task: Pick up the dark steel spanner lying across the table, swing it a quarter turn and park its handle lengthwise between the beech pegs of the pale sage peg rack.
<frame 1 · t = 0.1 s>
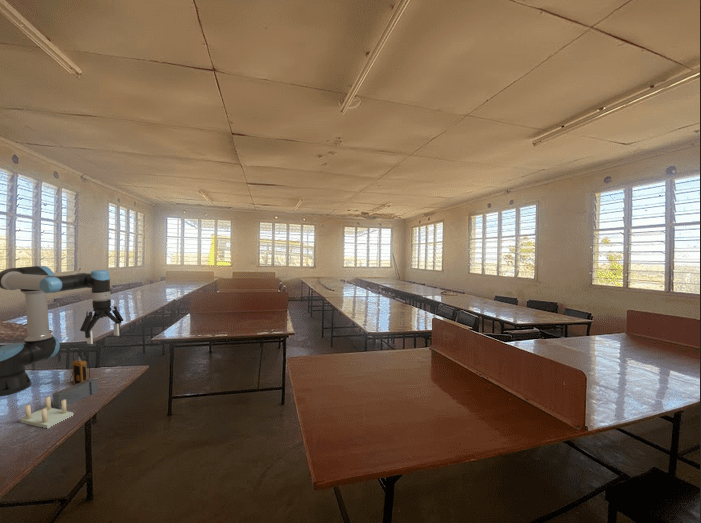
hand: (103, 339, 163), 28 cm above the table, fingers open, 13 cm apart
spanner: (72, 401, 154), on the table
multimeter: (87, 381, 175), on the table
peg rack: (47, 418, 139), on the table
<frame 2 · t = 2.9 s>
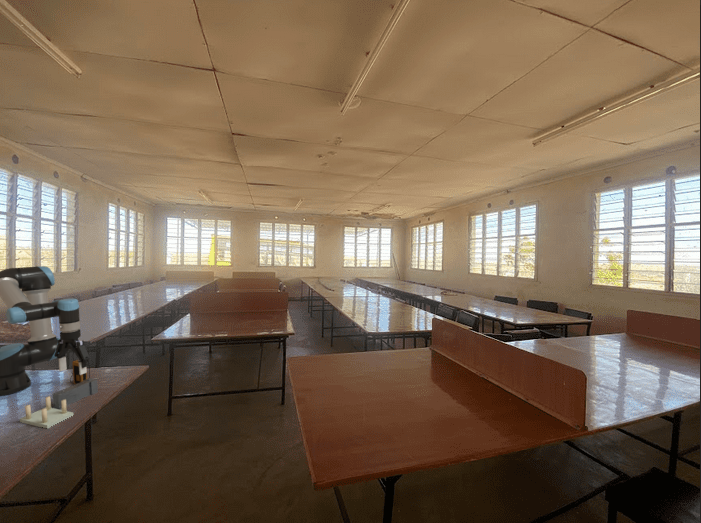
hand: (72, 372, 153), 15 cm above the table, fingers open, 13 cm apart
nothing on the table moved.
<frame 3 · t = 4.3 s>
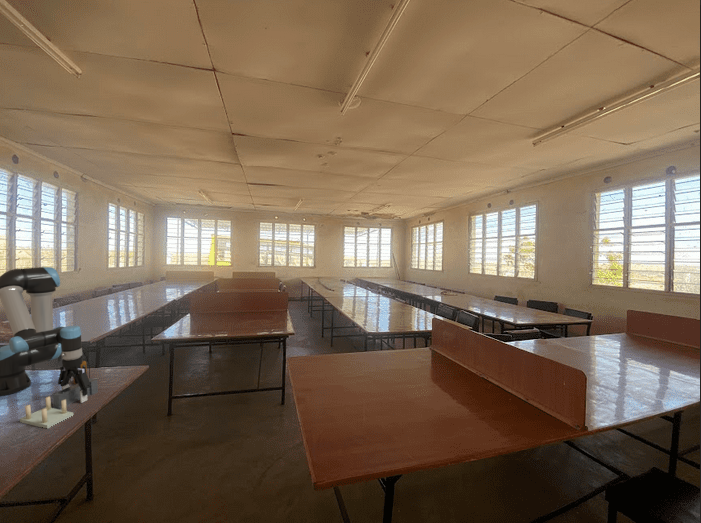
hand: (75, 399, 155), 0 cm above the table, fingers open, 11 cm apart
nothing on the table moved.
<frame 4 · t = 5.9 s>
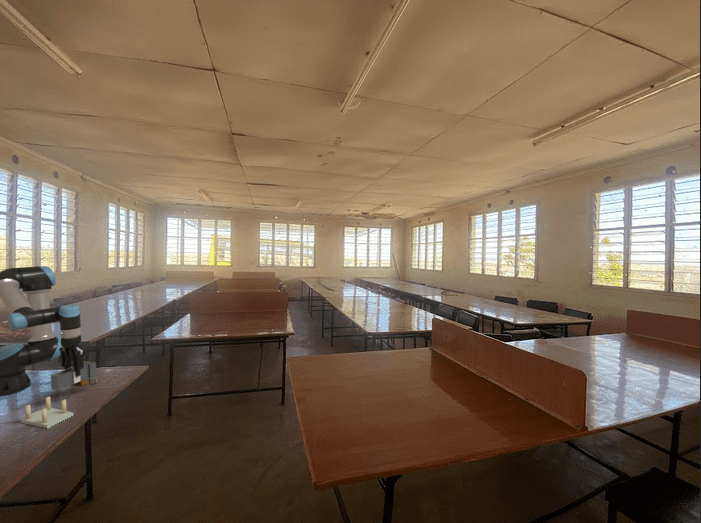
hand: (73, 381, 154), 10 cm above the table, fingers closed on spanner, 4 cm apart
spanner: (71, 383, 153), point 9 cm above the table, touching gripper
everything else where it was.
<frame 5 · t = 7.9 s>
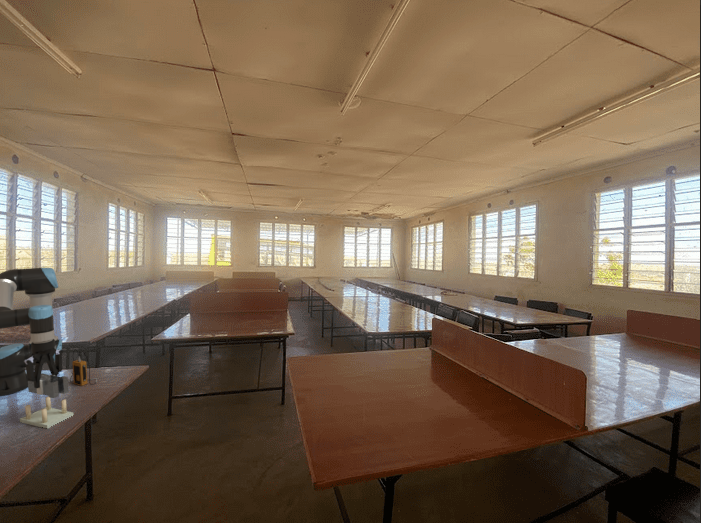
hand: (46, 391, 138), 13 cm above the table, fingers closed on spanner, 4 cm apart
spanner: (45, 391, 138), point 13 cm above the table, touching gripper
everything else where it was.
when the fingers open (2 cm above the table, at t = 9.9 s): spanner stays where it is, resting on peg rack.
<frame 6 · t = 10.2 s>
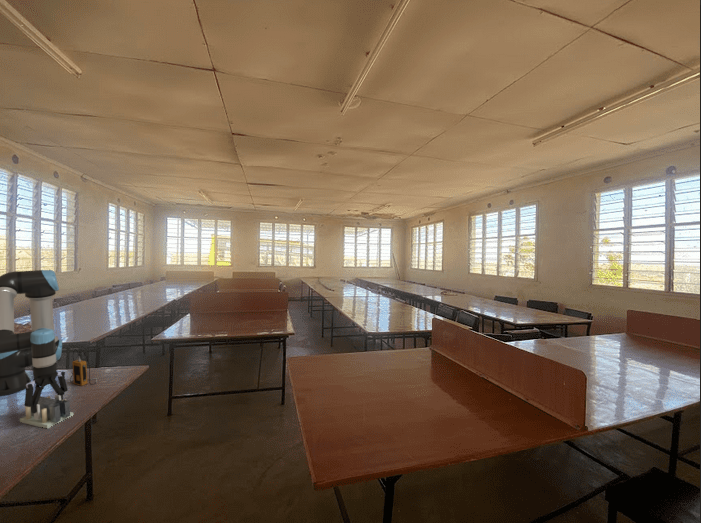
hand: (48, 413, 139), 3 cm above the table, fingers open, 7 cm apart
spanner: (46, 415, 139), point 1 cm above the table, touching peg rack
everything else where it was.
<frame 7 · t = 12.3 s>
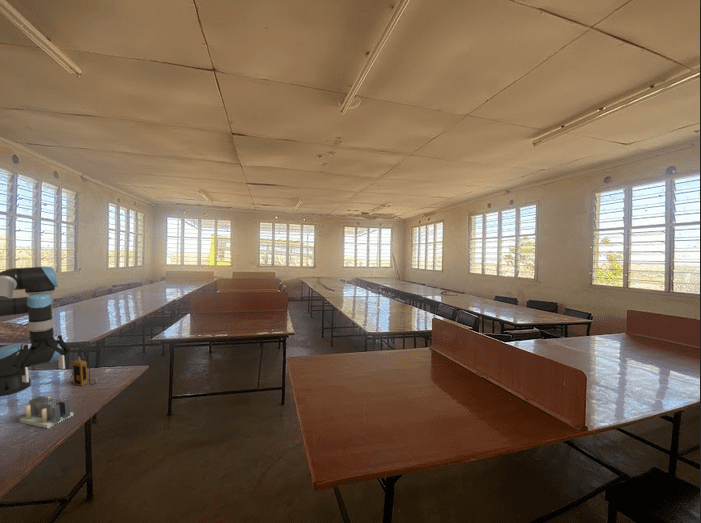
hand: (44, 374, 139), 20 cm above the table, fingers open, 13 cm apart
nothing on the table moved.
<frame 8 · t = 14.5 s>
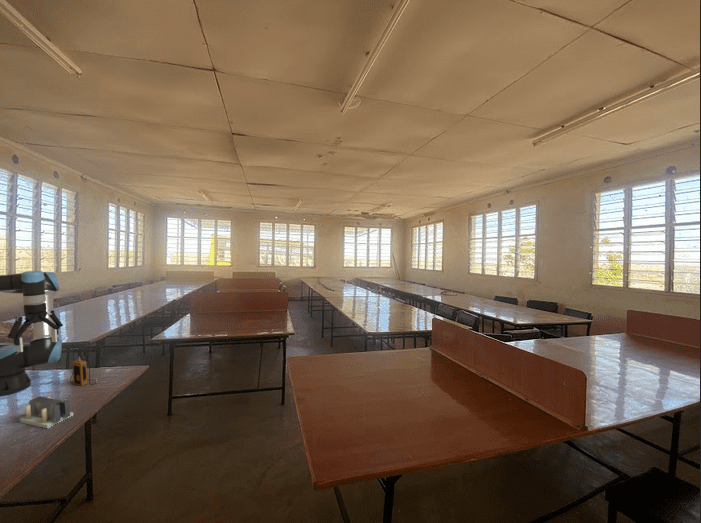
hand: (38, 346, 149), 29 cm above the table, fingers open, 13 cm apart
nothing on the table moved.
at the end: spanner 0.1 cm off-centre on the peg rack, point 1.5 cm above the peg rack's base; spanner tilted 0°; the gripper is holding nothing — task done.
